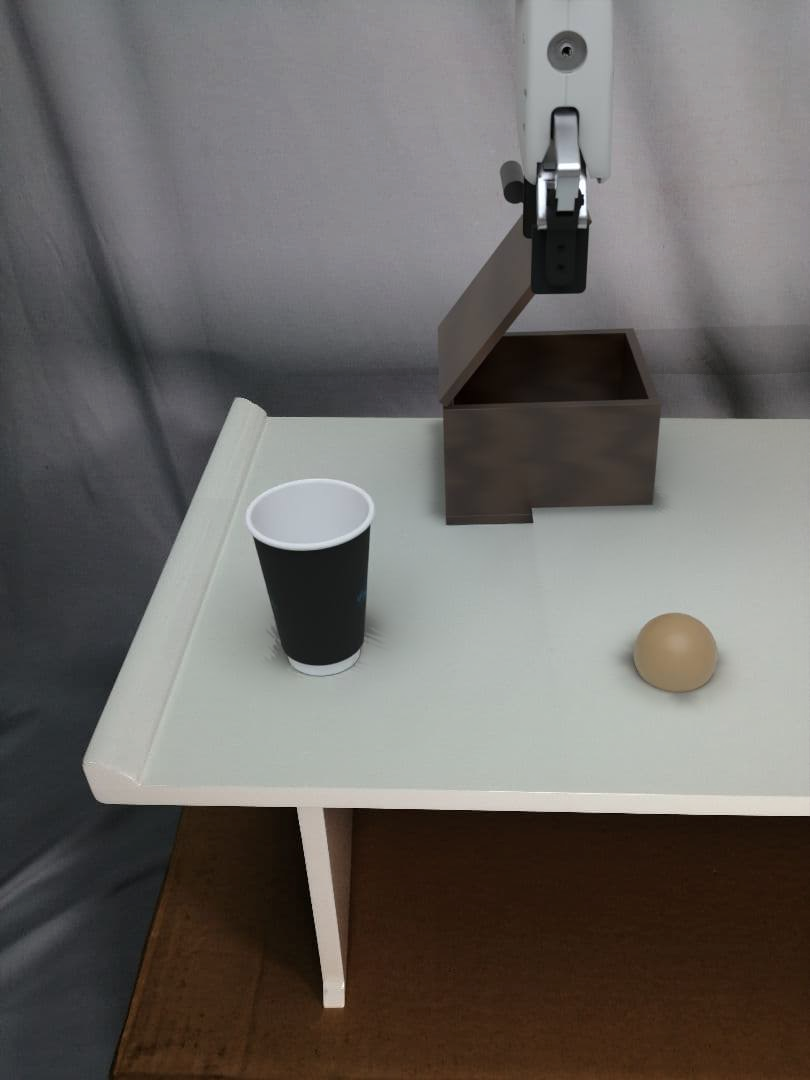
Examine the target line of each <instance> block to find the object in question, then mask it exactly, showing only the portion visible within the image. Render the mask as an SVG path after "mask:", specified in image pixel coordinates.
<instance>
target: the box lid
mask: <svg viewBox="0 0 810 1080" xmlns="http://www.w3.org/2000/svg"><path fill="white" fill-rule="evenodd" d="M499 176H500V182H501V183H500V184H501V187H502V193H503V198H504V200H505V201H506V202H507V203H509V204H512V205H517V204H520V203H521V204H523V186H524V171H523V166H522V164H521V163H519V162H518V161H516V160H507V161H505V162H503V164H501V166H500V169H499ZM592 223H593V220H592V218H591V215H590V212H589V209H588V208H587V224H589V226H591V224H592ZM531 248H532V239H527V238H525V237H524V235H523V213H522V214H521V215H520V217H519V218H518V219H517V220H516V222H515V223H514V225H513V226H511V228H510V229H509V231H508V232H507V234H506V235H505V237H504V238H503V239H502V240H501V242H500V243H499V244H498V246H497V247H496V249H495V250H494V251H493V253H492V254H491V255H490V256H489V258H488V259H487V260H486V262H485V263H484V264H483V266H482V267H481V268H480V270H479V271H478V273H477V274H476V275H475V276H474V278H473V279H472V280H471V282H470V283H469V285H468V286H467V287H466V289H465V290H464V291H463V292H462V294H461V295H460V297H459V298H458V299H457V300H456V302H455V303H454V304H453V305H452V307H451V309H450V310H449V311H448V313H447V314H446V315H445V316H444V318H442V320H441V322H440V323H439V324H438V326H437V364H438V365H437V367H438V368H437V371H438V374H437V375H438V403H439V404H440V405H442V406H443V405H444V406H446V407H447V406H448V405H449V404H450V402H451V401H452V400H453V399H454V397H455V396H456V395H457V393H458V392H459V391H460V390H461V388H462V387H463V386H464V385H465V383H466V382H467V381H468V379H469V378H470V377H471V376H472V374H473V373H474V372H475V371H476V369H477V368H478V367H479V365H480V364H481V363H482V362H483V360H484V359H485V358H486V357H487V355H488V354H489V353H490V351H491V350H492V349H493V348H494V346H495V345H496V344H497V343H498V341H499V340H500V339H501V337H502V336H503V335H504V334H505V332H508V330H509V329H510V328H511V326H512V325H513V324H514V322H516V320H517V318H518V317H519V316H520V315H521V313H522V312H523V311H524V310H525V308H526V307H527V306H528V304H529V303H530V302H531V301H532V299H533V298H534V297H535V296H536V294H534V293H533V292H532V291H531Z"/></svg>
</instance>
